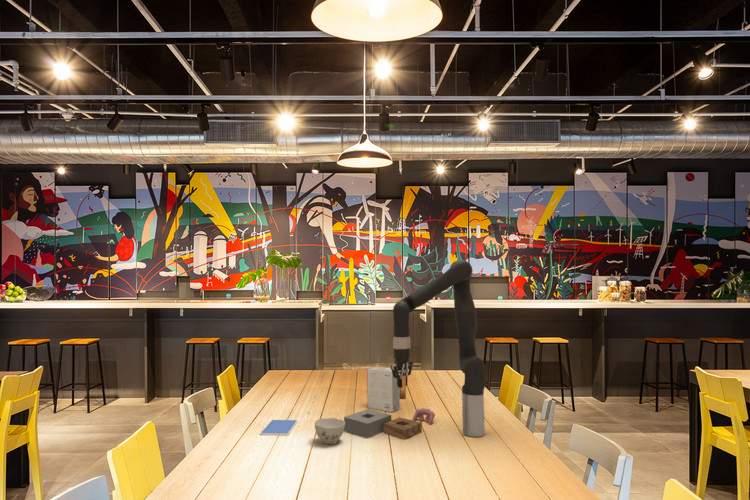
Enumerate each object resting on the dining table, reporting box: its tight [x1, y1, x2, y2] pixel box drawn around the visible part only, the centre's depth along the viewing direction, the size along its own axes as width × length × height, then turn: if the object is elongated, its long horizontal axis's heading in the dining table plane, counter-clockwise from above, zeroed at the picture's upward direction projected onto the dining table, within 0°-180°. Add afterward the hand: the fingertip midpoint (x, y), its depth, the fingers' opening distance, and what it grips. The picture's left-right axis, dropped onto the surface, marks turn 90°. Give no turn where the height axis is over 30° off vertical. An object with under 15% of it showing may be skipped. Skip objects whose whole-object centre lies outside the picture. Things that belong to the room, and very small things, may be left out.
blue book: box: [259, 419, 298, 437], centre depth 199 cm, size 19×13×1 cm, turn 177°
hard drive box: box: [366, 366, 401, 413], centre depth 229 cm, size 16×8×20 cm, turn 58°
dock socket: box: [343, 408, 392, 439], centre depth 196 cm, size 16×14×6 cm
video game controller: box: [412, 407, 436, 425], centre depth 207 cm, size 10×5×7 cm
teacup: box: [314, 417, 345, 445], centre depth 183 cm, size 15×12×8 cm
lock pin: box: [399, 374, 407, 400], centre depth 193 cm, size 3×3×10 cm
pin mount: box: [382, 416, 423, 440], centre depth 192 cm, size 12×12×4 cm
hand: (402, 386), depth 193 cm, fingers closed on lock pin, 3 cm apart
